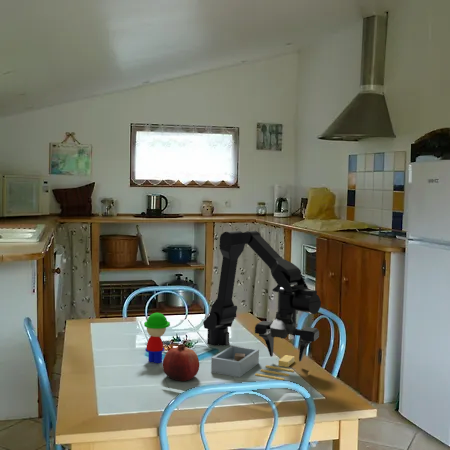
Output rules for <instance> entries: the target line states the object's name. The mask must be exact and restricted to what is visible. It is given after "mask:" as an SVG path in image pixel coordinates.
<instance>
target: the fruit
mask: <svg viewBox="0 0 450 450" xmlns="http://www.w3.org/2000/svg"><path fill="white" fill-rule="evenodd" d="M162 369H163V372H164V374H165V375H166V376H167V377H168V378H170V379H171V380H175V381H179V382H186V381H189V380H192V379H194V377H196V375H197V374H198V372H199V370H200V359H199V357H198V355H197V353H196V351H194V350H193V349H190V348H189V347H186V345H185V344H184V343H179V344H178V345H177V347H174V348H170V349H169V350H167V352H166V353H165V354H164V357H163V359H162Z"/></svg>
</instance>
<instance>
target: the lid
mask: <svg viewBox="0 0 450 450" xmlns="http://www.w3.org/2000/svg"><path fill="white" fill-rule="evenodd" d="M293 363H295V356H294V355H286V354H285V355H284V356H282V357H280V359H278V364H277V366H274V365H268V364H266V365H265V369H264V368H261V369H260V372H262V373H255V374H254V375H255V376H257V377H261V378H268V379H272V380H273V379H274V380H279V381H283V380H284V381H285V378H284V377H280V376H285V377H289V376H290V373H294V371H295V370H294V369H291V368H289V367H290V366H291V365H292V364H293ZM266 368H267V369H266ZM270 369H272V370H270ZM273 369H274V371H273ZM275 370H278V371H275ZM280 371H284V372H280ZM263 372H264V373H268V374H269V375H267V374H263ZM286 372H290V373H286ZM270 374H275V375H280V376H279V377H278V376H274V375H270Z"/></svg>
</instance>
